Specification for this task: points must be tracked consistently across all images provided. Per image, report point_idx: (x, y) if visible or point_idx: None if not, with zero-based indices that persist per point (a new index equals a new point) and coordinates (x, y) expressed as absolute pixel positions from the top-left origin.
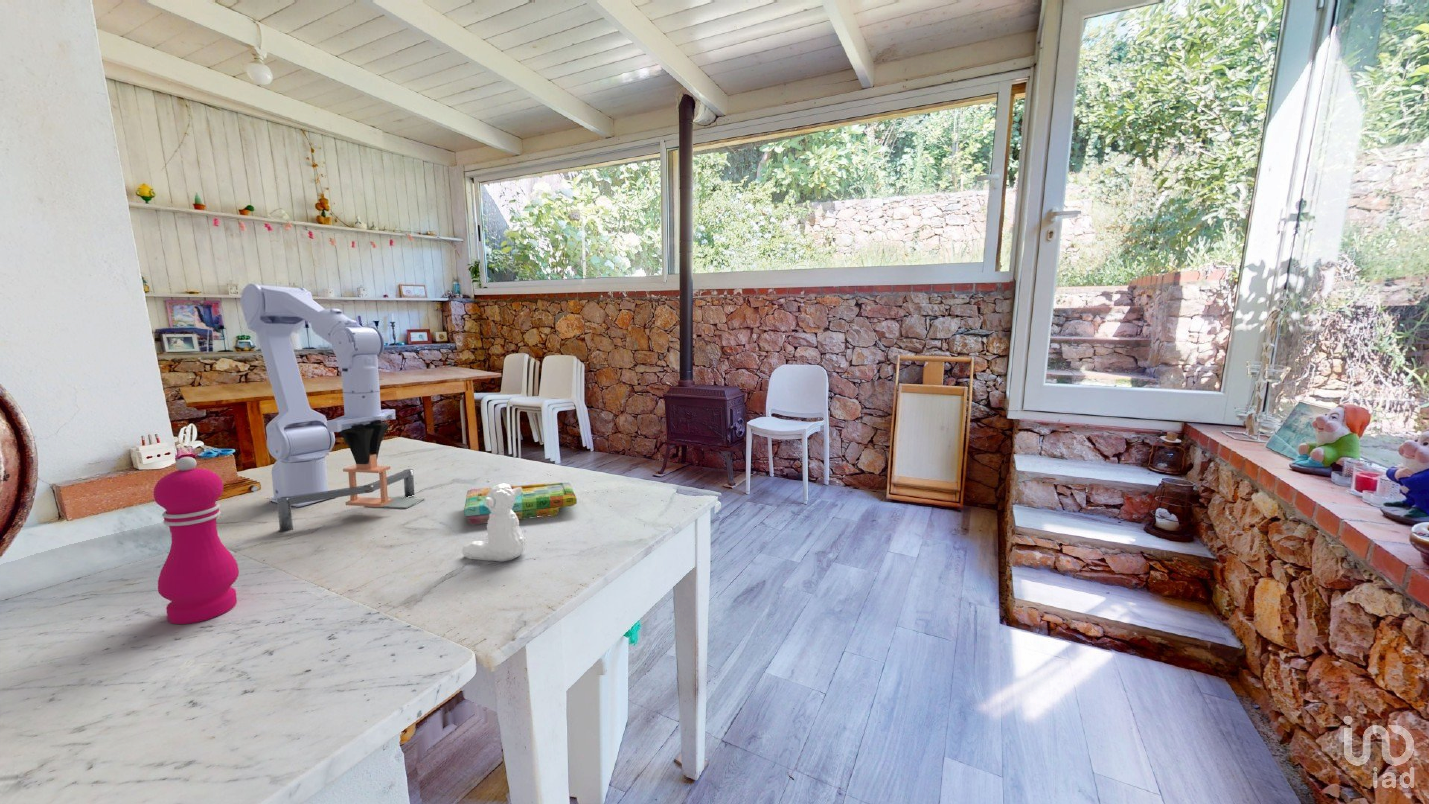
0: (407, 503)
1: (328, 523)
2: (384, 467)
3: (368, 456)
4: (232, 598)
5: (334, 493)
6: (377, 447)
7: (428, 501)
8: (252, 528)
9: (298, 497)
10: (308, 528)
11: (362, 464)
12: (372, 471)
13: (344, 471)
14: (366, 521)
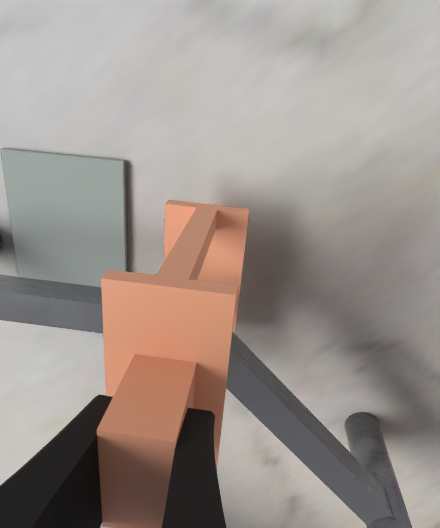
0: (76, 186)
1: (304, 346)
2: (140, 299)
3: (186, 448)
4: None
5: (296, 409)
6: (50, 481)
7: (15, 117)
8: (342, 501)
9: (375, 494)
10: (352, 376)
11: None
12: (231, 331)
13: None
14: (284, 234)
